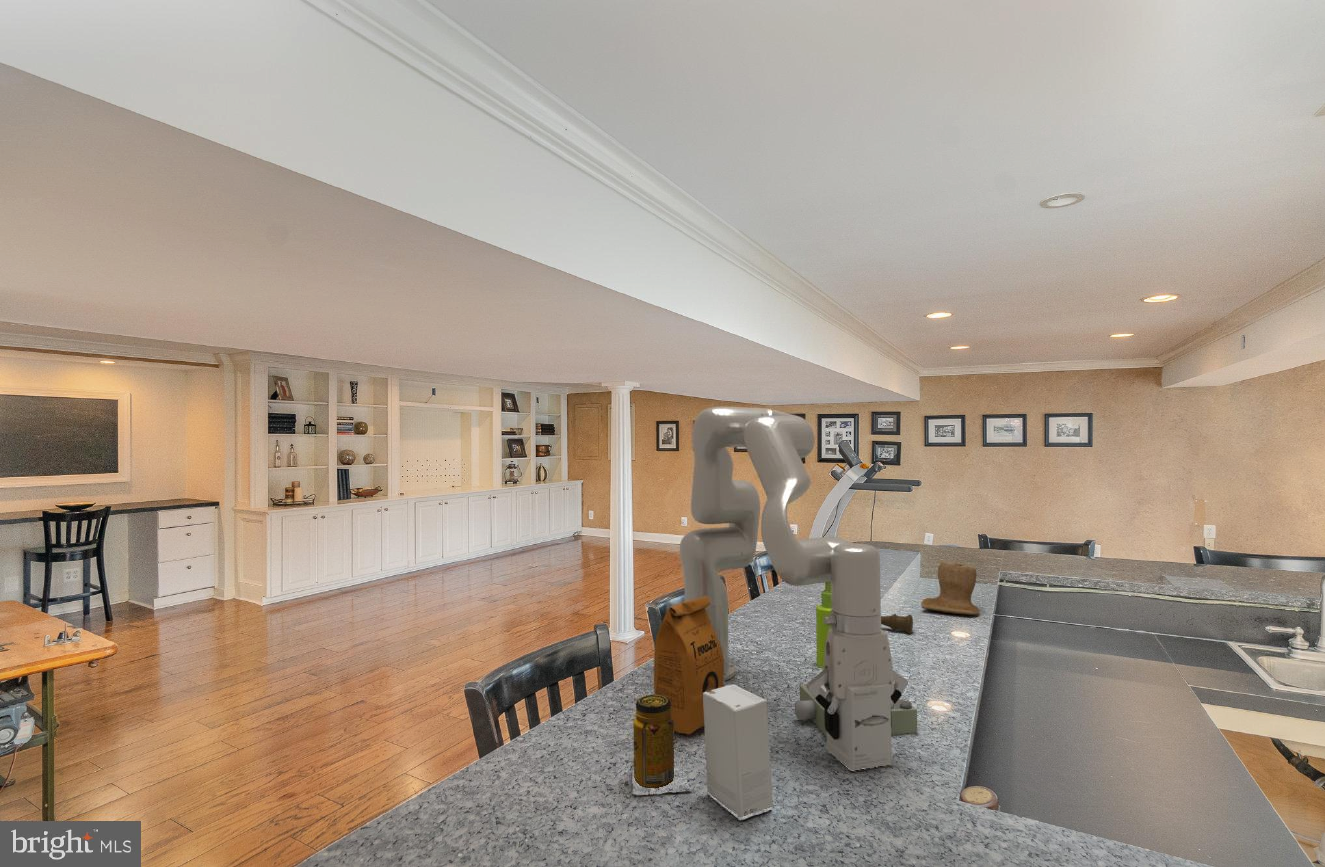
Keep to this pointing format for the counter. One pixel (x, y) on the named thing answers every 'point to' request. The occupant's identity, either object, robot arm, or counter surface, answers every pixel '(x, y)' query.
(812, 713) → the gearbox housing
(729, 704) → the skincare box
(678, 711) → the coffee package
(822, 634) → the soap dispenser
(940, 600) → the brown boot
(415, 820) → the counter surface
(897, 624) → the kendama
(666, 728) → the condiment
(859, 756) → the supplement box
